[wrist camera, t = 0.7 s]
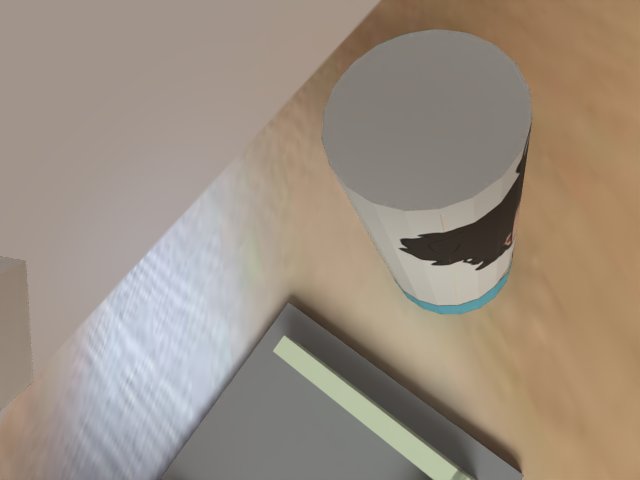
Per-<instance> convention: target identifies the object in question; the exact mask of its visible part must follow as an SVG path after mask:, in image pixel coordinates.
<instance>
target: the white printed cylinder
mask: <svg viewBox="0 0 640 480" xmlns="http://www.w3.org/2000/svg"><path fill="white" fill-rule="evenodd" d="M531 123H532V112H531V99H530V89H529V87H528V85H527V83H526V81H525V79H524V77H523V75H522V73H521V71H520V69H519V68H518V66H517V64H516V63H515V62H514V61H513V60H512V59H511V58H510V57H508V56H507V55H506V54H505V53H504V52H503V51H502V50H501V49H499V48H498V47H497V46H496V45H495V44H493V43H490V42H488V41H486V40H483V39H481V38H479V37H476V36H474V35H472V34H469V33H466V32H457V31H449V30H440V29H434V30H427V31H420V32H413V33H406V34H403V35H401V36H398V37H396V38H393V39H391V40H388V41H386V42H384V43H381V44H379V45H376V46H375V47H374V48H372V49H371V50H370V51H368V52H367V53H366V54H364V55H363V56H361V57H360V58H359V59H357V60H356V61H355V62H353V63H352V64H351V65H350V67H349V68H348V69H347V70H346V72H345V73H344V74H343V75H342V77H341V78H340V79H339V80H338V82H337V83H336V84H335V85H334V87H333V90H332V92H331V95H330V97H329V99H328V102H327V104H326V107H325V109H324V112H323V126H322V142H323V145H324V148H325V152H326V155H327V158H328V162H329V165H330V167H331V168H332V170H333V172H334V174H335V175H336V177H337V179H338V181H339V182H340V184H341V186H342V188H343V189H344V191H345V193H346V195H347V196H348V198H349V200H350V202H351V204H352V205H353V207H354V209H355V211H356V212H357V214H358V216H359V218H360V219H361V221H362V223H363V225H364V226H365V228H366V230H367V232H368V233H369V235H370V237H371V239H372V241H373V242H374V244H375V246H376V248H377V249H378V251H379V253H380V255H381V256H382V258H383V260H384V262H385V263H386V265H387V267H388V269H389V270H390V272H391V274H392V276H393V277H394V279H395V281H396V283H397V284H398V286H399V287H400V288H401V290H402V291H403V292H404V294H405V295H406V296H407V298H409V299H410V300H412V301H413V302H414V303H416V304H417V305H419V306H420V307H422V308H424V309H427V310H430V311H433V312H436V313H440V314H462V313H465V312H468V311H472V310H475V309H478V308H480V307H482V306H483V305H484V304H486V303H487V302H489V301H490V300H491V299H493V298H494V297H495V296H496V295H497V294H498V292H499V291H500V290H501V288H502V287H503V285H504V284H505V283H506V281H507V278H508V274H509V271H510V268H511V264H512V257H513V250H514V243H515V236H516V229H517V222H518V215H519V208H520V201H521V194H522V187H523V180H524V173H525V166H526V159H527V152H528V144H529V137H530V130H531Z"/></svg>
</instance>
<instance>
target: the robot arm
mask: <svg viewBox="0 0 640 480" xmlns="http://www.w3.org/2000/svg"><path fill="white" fill-rule="evenodd" d="M32 383H33V369H32V351H31V334H30V319H29V302H28V285H27V268H26V261H25V260H19V259H13V258H7V257H1V256H0V411H1V410H2V409H3V408H4V407H6V406H7V405H8V404H9V403H10V402H11V401H12V400H13V399H15V398H16V397H17V396H18V395H19V394H20V393H21V392H23V391H24V390H25V389H26V388H27V387H28V386H29V385H30V384H32Z"/></svg>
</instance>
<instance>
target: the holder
mask: <svg viewBox="0 0 640 480" xmlns="http://www.w3.org/2000/svg"><path fill="white" fill-rule="evenodd" d="M523 476H524V475H523V474H521V473H520V472H519V471H517V470H516V469H514V468H513V467H512V466H510V465H509V464H508V463H506V462H505V461H504V460H502V459H501V458H500V457H498V456H497V455H495V454H494V453H493V452H491V451H490V450H489V449H487V448H486V447H485V446H483V445H482V444H481V443H479V442H478V441H476V440H475V439H474V438H472V437H471V436H470V435H468V434H467V433H466V432H464V431H463V430H462V429H460V428H459V427H457V426H456V425H455V424H453V423H452V422H451V421H449V420H448V419H447V418H445V417H444V416H442V415H441V414H440V413H438V412H437V411H436V410H434V409H433V408H432V407H430V406H429V405H428V404H426V403H425V402H423V401H422V400H421V399H419V398H418V397H417V396H415V395H414V394H413V393H411V392H410V391H409V390H407V389H406V388H404V387H403V386H402V385H400V384H399V383H398V382H396V381H395V380H394V379H392V378H391V377H390V376H388V375H387V374H385V373H384V372H383V371H381V370H380V369H379V368H377V367H376V366H375V365H373V364H372V363H371V362H369V361H368V360H366V359H365V358H364V357H362V356H361V355H360V354H358V353H357V352H356V351H354V350H353V349H351V348H350V347H349V346H347V345H346V344H345V343H343V342H342V341H341V340H339V339H338V338H337V337H335V336H334V335H332V334H331V333H330V332H328V331H327V330H326V329H324V328H323V327H322V326H320V325H319V324H318V323H316V322H315V321H313V320H312V319H311V318H309V317H308V316H307V315H305V314H304V313H303V312H301V311H300V310H299V309H297V308H296V307H294V306H293V305H292V304H290V303H289V302H288V304H287V305H286V306H285V308H284V309H283V311H282V312H281V313H280V315H279V316H278V317H277V319H276V320H275V322H274V323H273V324H272V326H271V327H270V328H269V330H268V331H267V333H266V334H265V335H264V337H263V338H262V339H261V341H260V342H259V344H258V345H257V346H256V348H255V349H254V350H253V352H252V353H251V355H250V356H249V357H248V359H247V360H246V361H245V363H244V364H243V366H242V367H241V368H240V370H239V371H238V372H237V374H236V375H235V377H234V378H233V379H232V381H231V382H230V383H229V385H228V386H227V388H226V389H225V390H224V392H223V393H222V394H221V396H220V397H219V399H218V400H217V401H216V403H215V404H214V405H213V407H212V408H211V410H210V411H209V412H208V414H207V415H206V416H205V418H204V419H203V421H202V422H201V423H200V425H199V426H198V427H197V429H196V430H195V432H194V433H193V434H192V436H191V437H190V439H189V440H188V441H187V443H186V444H185V445H184V447H183V448H182V450H181V451H180V452H179V454H178V455H177V456H176V458H175V459H174V461H173V462H172V463H171V465H170V466H169V467H168V469H167V470H166V472H165V473H164V474H163V476H162V477H161V478H160V480H521V479H522V478H523Z"/></svg>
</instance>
